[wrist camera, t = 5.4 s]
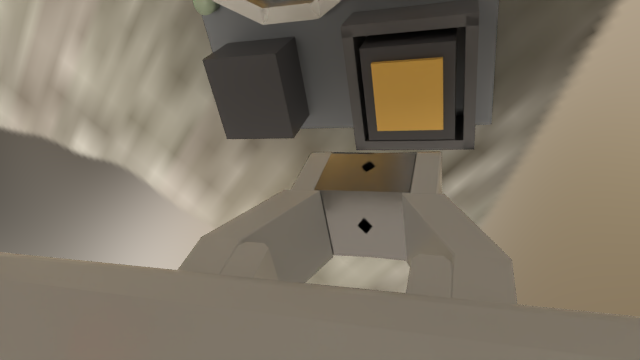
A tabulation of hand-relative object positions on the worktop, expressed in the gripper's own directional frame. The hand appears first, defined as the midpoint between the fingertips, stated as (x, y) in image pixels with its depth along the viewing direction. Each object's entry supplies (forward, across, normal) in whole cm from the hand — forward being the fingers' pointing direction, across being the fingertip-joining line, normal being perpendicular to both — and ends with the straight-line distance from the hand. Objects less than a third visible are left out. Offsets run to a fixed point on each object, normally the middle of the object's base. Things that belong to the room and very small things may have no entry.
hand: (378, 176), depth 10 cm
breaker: (+8, 0, +1) cm, 8 cm away
